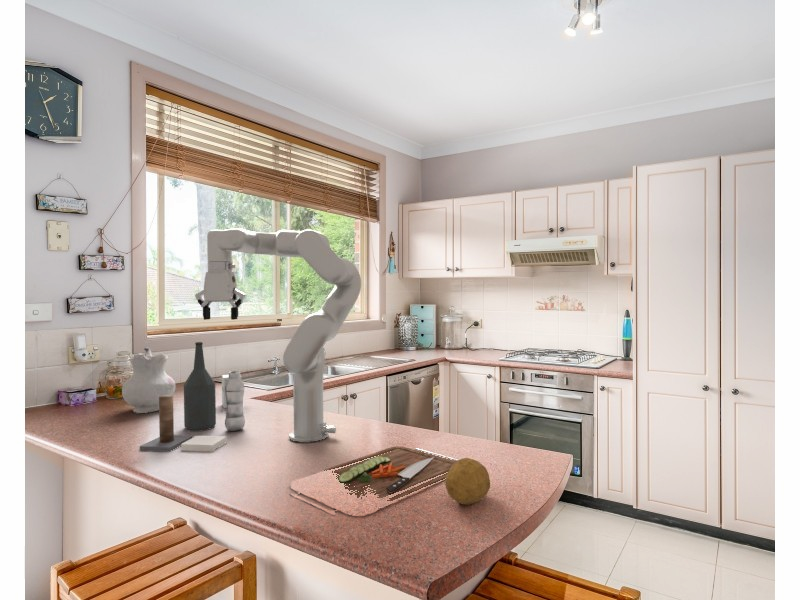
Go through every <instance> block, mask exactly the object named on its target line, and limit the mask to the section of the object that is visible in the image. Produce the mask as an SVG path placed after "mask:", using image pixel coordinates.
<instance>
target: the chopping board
mask: <svg viewBox="0 0 800 600" xmlns="http://www.w3.org/2000/svg"><path fill="white" fill-rule="evenodd" d="M390 451H391V452H390ZM421 451H422V452H421ZM387 452H388V453H387ZM424 452H426V453H424ZM384 453H385V454H384ZM428 453H430V454H428ZM381 454H382V455H381ZM432 454H434V455H432ZM378 455H379V456H378ZM435 455H438V456H435ZM374 456H376V457H374ZM439 456H441V457H439ZM371 457H373V458H371ZM442 457H445V458H442ZM367 458H370V459H367ZM446 458H448V459H446ZM364 459H367V460H364ZM450 459H452V460H450ZM362 460H364V461H362ZM458 460H460V459H459V458H458V459H457V458H455V457H451V456H447V455H443V454H441V453H440V454H439V453H437V452H433V451H428V450H425V449H421V448H418V447H415V449H413V448H409V447H407V446H392V447H388V448H385V449H381V450H378V451H376V452H373V453H370V454H366V455H364V456H360V457H358V458H354V459H351V460H349V461H346V462H344V463H340V464H337V465H334V466H330V467H328V468H325V469H323V470H324V471H325V470H326V471H327V470H331V469H335V468H339V467H343V466H346V465H349V464H352V463H355V462H358V461H362V462H359V463H356V464H353V465H350V466H347V467H344V468H341V469H338V470H335V471H334V473H337V474H339V475H340V476H339V475H337V474H336V475H337V476H338V477H337V476H336V477H337V478H338V480H339V482H340V483H344V485H345V484H346V485H345V486H348V487H349V488H348V487H345V486H344V487H345V489H348V490H349V491H350V490H353V491H355V490H357V491H355V492H357V493H355V492H353V491H351V492H353V493H355V495H357V498H359V497H360V495H361V494H363V495H362V496H365V495H366V494H367V492H366V493H365V492H364V490H365V491H367V490H366V489H367V488H368V487H369V488H371V489H373V490H370V489H368V490H370V491H368V492H371V491H373V492H371V493H375V492H376V493H375V494H374V495H376V494H379V495H378V496H379V497H377V498H383V497H386V496H388V495H391V494H394V493H396V492H399V491H402V490H405V489H407V488H409V487H411V486H414V485H416V484H418V483H421V482H423V481H426V480H428V479H431V478H434V477H436V476H438V475H441V474H444V473H446V472H449V470H450V468H451V467H452V465H453V464H454V463H455V462H456V461H458ZM332 473H333V471H332ZM333 475H334V474H333ZM446 475H447V473H446V474H444V475H442V476H439V477H437V478H435V479H432V480H430V481H428V482H426V483H423V484H421V485H419V486H417V487H414V488H412V489H410V490H407V491H405V492H403V493H401V494H398V495H396V496H394V497H392V498H389V499H390V500H387V501H393V500H395V499H398V498H400V497H403V496H405V495H408V494H410V493H412V492H414V491H417V490H419V489H421V488H423V487H426V486H428V485H431V484H433V483H436V482H438V481H440V480H443V479H445V478H446ZM337 478H336V479H337ZM349 484H350V485H349ZM368 485H370V486H368ZM354 486H355V487H354ZM365 486H367V487H365ZM363 487H364V488H363ZM374 490H376V491H374ZM358 491H359V492H358ZM361 492H362V493H361ZM353 493H349V494H350V495H352V494H353ZM364 493H365V494H364ZM371 493H370V494H371ZM347 494H348V493H347ZM366 497H367V496H366ZM361 499H362V497H361Z"/></svg>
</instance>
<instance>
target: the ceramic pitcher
mask: <svg viewBox="0 0 800 600" xmlns="http://www.w3.org/2000/svg"><path fill="white" fill-rule="evenodd" d="M143 350H144V352H139V353H136V354H133V357H129V361H130V364H131V367H132V370H133V371H132V372H133V373H132V375H130V377H129V378H127V379H126V381H124V382H123V384H122V386H121V394H122V398H123V400H124V402H126V404H128V405H129V406H131V407H134V409H133V410H132V412H133V413H135V412H136V413H145V414H149V413H152V412H157V411H158V412H159V396H162V395H173V396H174V394H175V391H176V381H175V380H174V378H173V377H171V376H170V375H168V373H166V369H165V368H166V367H165V366H166V362H167V360H168V357H169V356H168V355H167V354H166V355H165V354H164V353H163V352H158V353H157V354H155V355H152V350H151V348H150V347H147V346H145V347H144V348H143ZM148 412H149V413H148ZM136 413H135V414H136Z"/></svg>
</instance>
